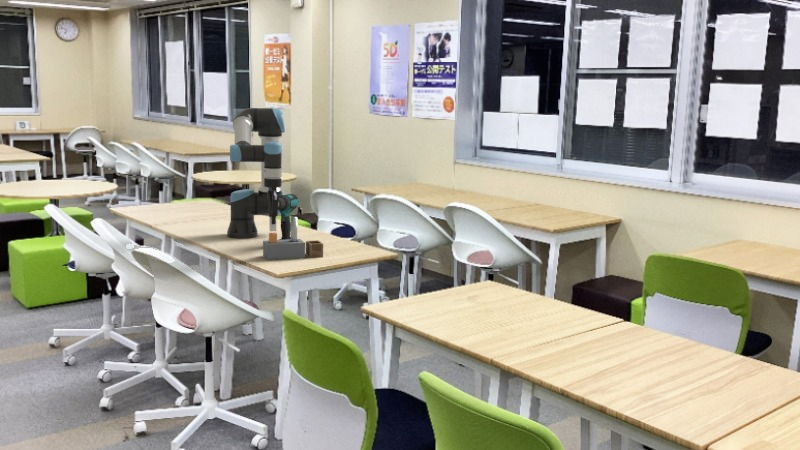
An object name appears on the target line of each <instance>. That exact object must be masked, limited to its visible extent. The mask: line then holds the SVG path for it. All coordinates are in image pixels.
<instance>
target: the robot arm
mask: <svg viewBox="0 0 800 450" xmlns="http://www.w3.org/2000/svg"><path fill="white" fill-rule="evenodd" d="M232 120H233V121H232V128H233V131H234V144H231V145H230V146H229V161H231V162H237V163H261V164H260V165H261V168H260V169H261V171H260V173H261V181H260V182H261V185H260V187H258V191H257V192H255V190H254V189H252V188H250V189H239V190H235V191H233V192H231V193H230V201H229V203H230V221H229V225H228V227H227V231H226V232H227V234H226V235H227V237H229V238H232V239H249V238H250V239H251V238H256V237H258V234H259V233H258V229H257V228H258V227H257V226H256V225H257V224H256V221H255V216H268V217H269V232H277V217H278V216H279V215H280V216H281V213H280V211H279V210H278V199H279V196H280V195H285V192H283V191H282V183H283V182H282V176H283V175H282V173H283V171H282V169H283V168H282V161H283V160H282V158H283V157H282V155H283V154H282V151H283V149H282V143H281V142H279V141H280V138H282V137H283V134H284V133H285V132H286V129H285V128H286V127H285V121H284V120H285V119H284V114H283V111H282V109H281V108H273V107H270V108H269V107H249V108H245V109H243V110H241V111H239V112H238V113H237V114H236V116H234V117H233V119H232ZM252 132H254V133H257V134H258V135H257V136H258V137H259V139H261V141H260V142H261V144H252Z"/></svg>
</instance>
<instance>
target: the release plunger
mask: <svg viewBox="0 0 800 450" xmlns="http://www.w3.org/2000/svg"><path fill="white" fill-rule="evenodd" d="M268 240H269V242H270V243H277V240H278V234H277V232H268Z"/></svg>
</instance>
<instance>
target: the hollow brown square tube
mask: <svg viewBox="0 0 800 450" xmlns="http://www.w3.org/2000/svg"><path fill="white" fill-rule="evenodd" d="M305 255H306V256H308V257H309V258H323V257H324V243H323V242H321V241H320V240H306V241H305Z"/></svg>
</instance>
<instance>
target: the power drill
mask: <svg viewBox="0 0 800 450" xmlns="http://www.w3.org/2000/svg"><path fill="white" fill-rule="evenodd" d="M298 206H299V197H298V196H297V195H296V194H294V193H288V194H284V195H280V196H279V199H278V210H279V211H280V213H281V214H280V232H281V238H280V239H278V240H286V239H291V213H292V212H293V211H294V210H295V209H297V208H298Z"/></svg>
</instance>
